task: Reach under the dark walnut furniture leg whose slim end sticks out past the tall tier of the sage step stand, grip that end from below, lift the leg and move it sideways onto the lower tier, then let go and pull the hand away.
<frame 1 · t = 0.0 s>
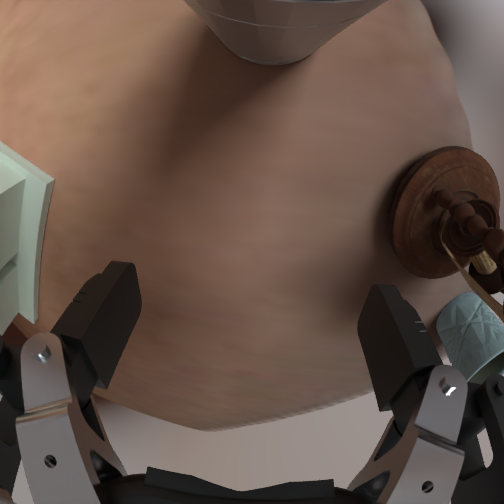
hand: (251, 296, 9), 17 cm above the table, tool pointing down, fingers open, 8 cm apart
scroll: (441, 208, 25), on the table
drinking glass: (458, 311, 33), on the table
step stand: (7, 239, 29), on the table
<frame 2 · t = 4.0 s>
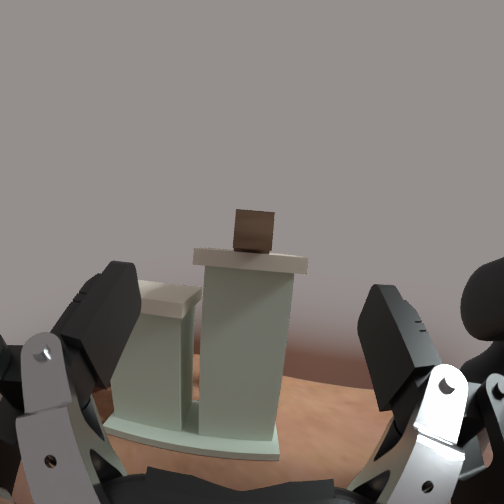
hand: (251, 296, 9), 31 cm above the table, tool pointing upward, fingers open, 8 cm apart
walnut leg: (251, 252, 41), point 32 cm above the table, touching step stand
step stand: (193, 427, 42), on the table
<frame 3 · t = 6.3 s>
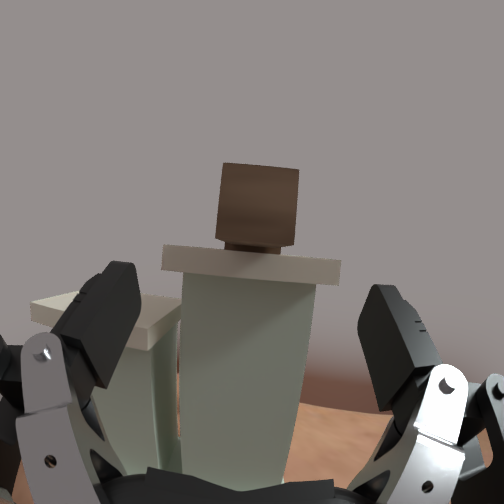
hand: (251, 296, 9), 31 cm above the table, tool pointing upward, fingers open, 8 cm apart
walnut leg: (252, 252, 28), point 32 cm above the table, touching step stand
step stand: (178, 473, 29), on the table
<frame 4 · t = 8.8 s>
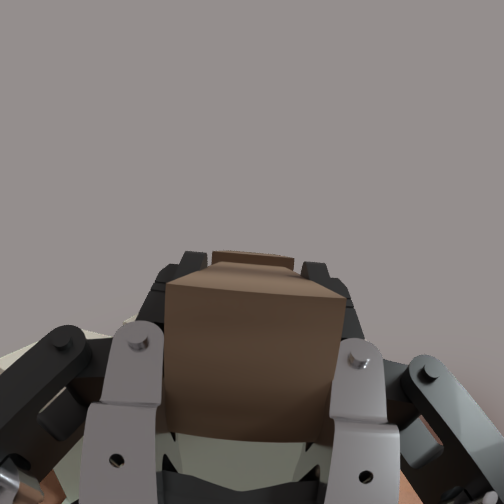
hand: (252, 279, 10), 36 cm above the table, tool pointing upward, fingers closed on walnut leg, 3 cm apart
walnut leg: (247, 311, 21), point 32 cm above the table, touching gripper, step stand
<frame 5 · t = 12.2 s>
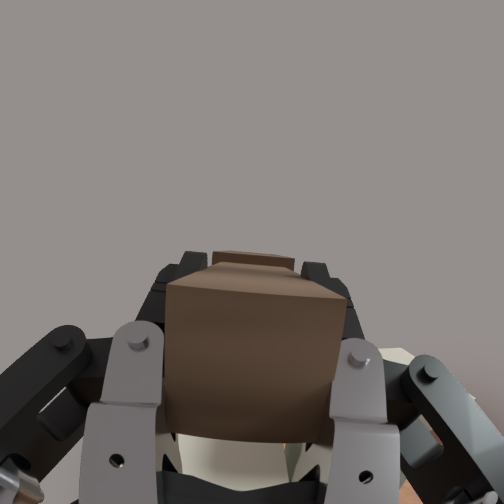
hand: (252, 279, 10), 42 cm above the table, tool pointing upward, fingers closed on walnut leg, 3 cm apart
walnut leg: (247, 311, 21), point 38 cm above the table, touching gripper
when the fingers open (30 cm above the table, at t = 15.9 s): walnut leg drops 2 cm, resting on step stand.
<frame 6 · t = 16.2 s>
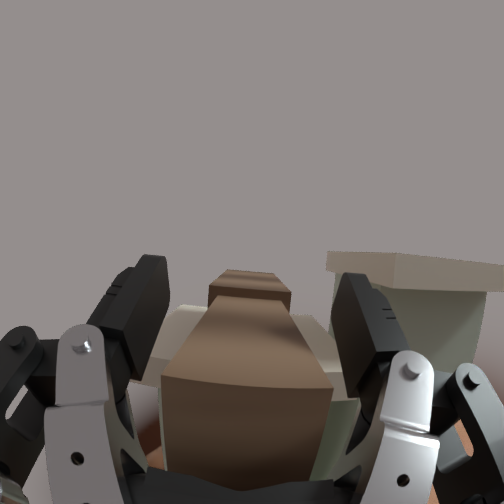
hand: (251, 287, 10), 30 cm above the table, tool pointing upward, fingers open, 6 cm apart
walnut leg: (245, 334, 21), point 25 cm above the table, touching step stand
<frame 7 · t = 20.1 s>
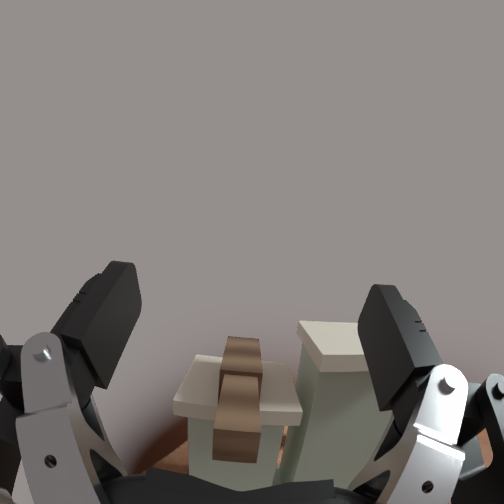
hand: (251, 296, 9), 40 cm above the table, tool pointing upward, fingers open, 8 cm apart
walnut leg: (239, 383, 33), point 25 cm above the table, touching step stand
step stand: (272, 497, 34), on the table
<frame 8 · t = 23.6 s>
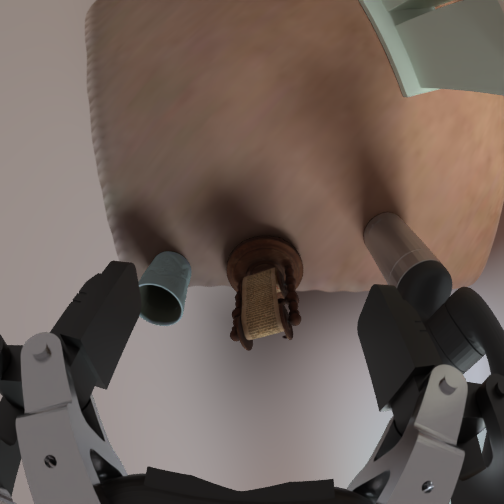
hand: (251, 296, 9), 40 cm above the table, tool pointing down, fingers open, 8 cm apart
scroll: (264, 265, 57), on the table
drinking glass: (173, 268, 58), on the table
step stand: (404, 18, 30), on the table
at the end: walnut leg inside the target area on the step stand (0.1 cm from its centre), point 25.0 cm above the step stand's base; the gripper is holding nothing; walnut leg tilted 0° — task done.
